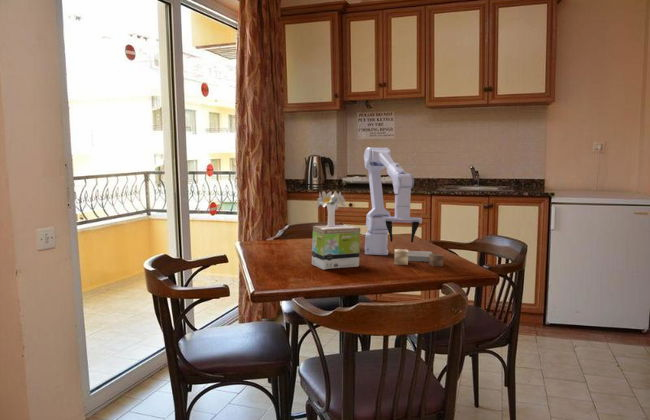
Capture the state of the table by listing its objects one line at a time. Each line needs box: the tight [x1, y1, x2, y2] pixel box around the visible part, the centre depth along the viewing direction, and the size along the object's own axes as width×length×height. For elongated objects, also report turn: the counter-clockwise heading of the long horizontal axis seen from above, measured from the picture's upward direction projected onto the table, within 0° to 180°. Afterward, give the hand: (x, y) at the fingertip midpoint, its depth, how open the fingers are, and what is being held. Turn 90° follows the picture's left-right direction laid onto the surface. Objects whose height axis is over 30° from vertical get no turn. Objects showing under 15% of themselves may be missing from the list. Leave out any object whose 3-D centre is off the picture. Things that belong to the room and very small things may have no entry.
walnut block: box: [428, 253, 444, 267], centre depth 189 cm, size 4×4×4 cm
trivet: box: [408, 250, 433, 263], centre depth 201 cm, size 11×11×2 cm
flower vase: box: [315, 190, 346, 225], centre depth 225 cm, size 13×18×25 cm
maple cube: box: [393, 248, 409, 266], centre depth 192 cm, size 5×5×5 cm
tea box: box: [311, 224, 361, 270], centre depth 185 cm, size 15×10×15 cm, turn 117°
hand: (401, 241), depth 191 cm, fingers open, 7 cm apart
